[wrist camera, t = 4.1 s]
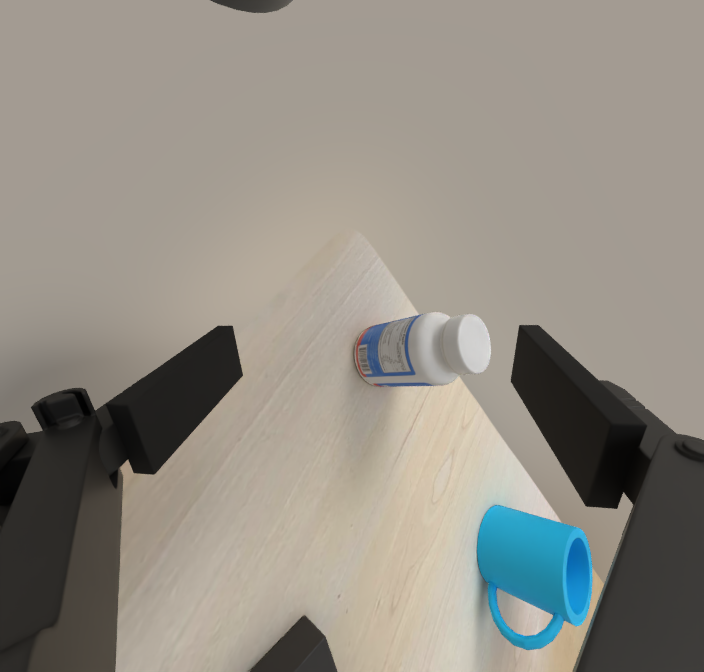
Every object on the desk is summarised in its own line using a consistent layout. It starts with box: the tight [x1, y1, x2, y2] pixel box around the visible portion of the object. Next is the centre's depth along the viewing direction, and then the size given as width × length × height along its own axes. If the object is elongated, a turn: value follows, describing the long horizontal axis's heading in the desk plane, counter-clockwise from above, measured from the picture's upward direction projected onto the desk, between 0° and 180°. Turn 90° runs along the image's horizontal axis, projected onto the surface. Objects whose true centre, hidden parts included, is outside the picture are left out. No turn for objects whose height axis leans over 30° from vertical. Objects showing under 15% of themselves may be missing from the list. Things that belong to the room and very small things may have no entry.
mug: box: [477, 505, 592, 650], centre depth 33 cm, size 12×8×8 cm
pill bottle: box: [354, 312, 491, 387], centre depth 25 cm, size 6×5×10 cm
